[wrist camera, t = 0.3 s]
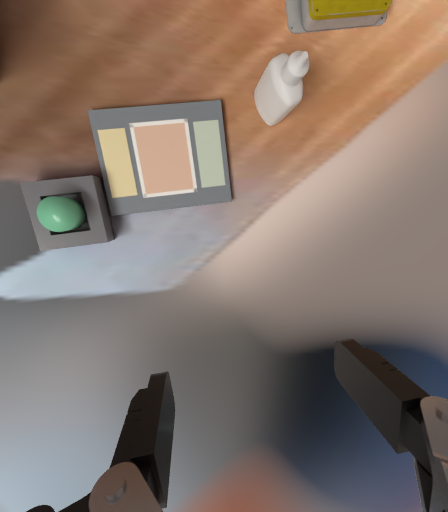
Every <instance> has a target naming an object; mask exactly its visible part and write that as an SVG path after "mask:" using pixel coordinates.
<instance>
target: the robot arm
mask: <svg viewBox="0 0 448 512" xmlns="http://www.w3.org/2000/svg"><path fill="white" fill-rule="evenodd" d="M334 362H335V364H334V366H335V373H336V376H337V379H338V381H339V382H340V383H341V385H342V386H343V387H344V388H345V390H346V391H347V392H348V393H349V395H350V396H351V397H352V398H353V400H354V401H355V402H356V403H357V405H359V407H360V408H361V409H362V411H363V412H364V413H365V414H366V416H367V417H368V418H369V419H370V421H371V422H372V423H373V424H374V426H375V427H376V428H377V429H378V430H379V432H380V433H381V434H382V435H383V437H384V438H385V439H386V440H387V441H388V443H389V444H390V445H391V446H392V448H393V449H394V450H395V451H396V453H397V454H399V453H403V452H407V451H410V452H411V453H412V455H413V456H414V467H415V472H416V478H417V483H418V488H419V495H420V500H421V506H422V511H423V512H448V400H447V399H444V398H441V397H435V396H430V395H428V394H427V393H426V392H425V391H424V390H422V389H421V388H420V387H419V386H418V385H416V384H415V383H414V382H413V381H412V380H410V379H409V378H408V377H407V376H405V375H404V374H403V373H402V372H400V371H399V370H397V368H396V367H394V366H393V365H392V364H389V362H388V361H387V360H386V359H385V358H383V357H382V356H381V355H380V354H378V353H376V352H374V351H372V350H370V349H368V348H363V347H362V346H361V345H360V344H358V343H357V342H356V341H355V340H353V339H347V340H341V341H336V342H335V361H334ZM174 419H175V402H174V396H173V391H172V386H171V381H170V376H169V372H163V373H157V374H152V375H151V376H150V380H149V384H148V388H145V389H140V390H139V391H138V392H137V393H136V395H135V396H134V397H133V399H132V400H131V403H130V406H129V409H128V414H127V415H126V419H125V422H124V425H123V428H122V431H121V434H120V437H119V441H118V444H117V447H116V450H115V454H114V456H113V460H112V463H111V466H110V468H109V469H108V470H107V471H106V472H105V473H104V474H103V475H102V476H101V477H100V478H99V479H98V481H97V482H96V484H95V485H94V487H93V489H92V491H91V493H89V494H88V495H87V496H85V497H83V498H82V499H80V500H78V501H77V502H75V503H73V504H71V505H70V506H68V507H66V508H64V509H62V510H61V511H59V512H163V511H162V508H166V507H167V497H168V486H169V475H170V474H169V473H170V463H171V452H172V441H173V430H174ZM27 512H55V511H54V509H53V508H52V507H51V506H48V505H41V506H37V507H34V508H32V509H30V510H28V511H27Z"/></svg>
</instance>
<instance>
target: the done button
mask: <svg viewBox="0 0 448 512" xmlns="http://www.w3.org/2000/svg"><path fill="white" fill-rule="evenodd" d="M37 217H38V219H39V221H40V223H41V224H42V225H43V226H44V227H45V228H47V229H48V230H51V231H54V232H63V231H68V230H73V229H77V228H79V227H80V226H81V225H82V224H83V223H84V221H85V218H86V213H85V209H84V207H83V206H82V205H81V203H80V202H78V201H77V200H75V199H73V198H69V197H56V196H51V197H47V198H45V199H43V200H42V201H41V202H40V203H39V205H38V207H37Z"/></svg>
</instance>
